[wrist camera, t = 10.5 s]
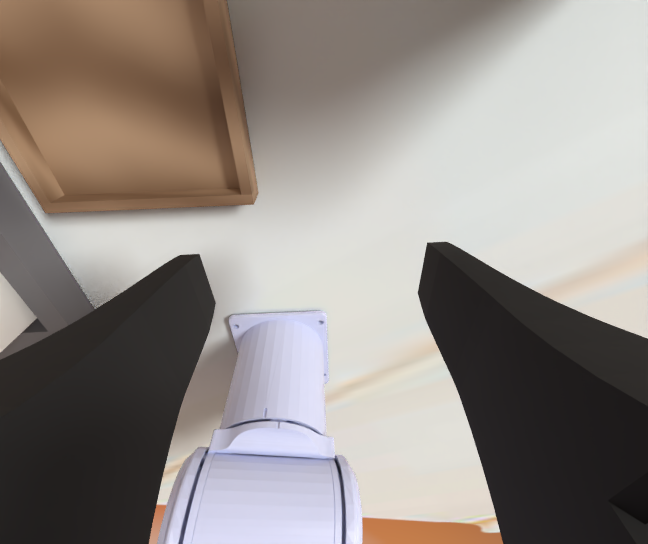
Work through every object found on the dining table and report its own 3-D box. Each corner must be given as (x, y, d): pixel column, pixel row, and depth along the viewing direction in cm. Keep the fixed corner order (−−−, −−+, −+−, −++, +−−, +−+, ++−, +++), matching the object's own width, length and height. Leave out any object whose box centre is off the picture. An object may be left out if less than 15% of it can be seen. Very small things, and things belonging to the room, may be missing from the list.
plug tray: (258, 193, 19) (253, 204, 17) (66, 201, 19) (45, 213, 17) (210, -99, 12) (196, -122, 10) (-95, -89, 12) (-153, -111, 10)
